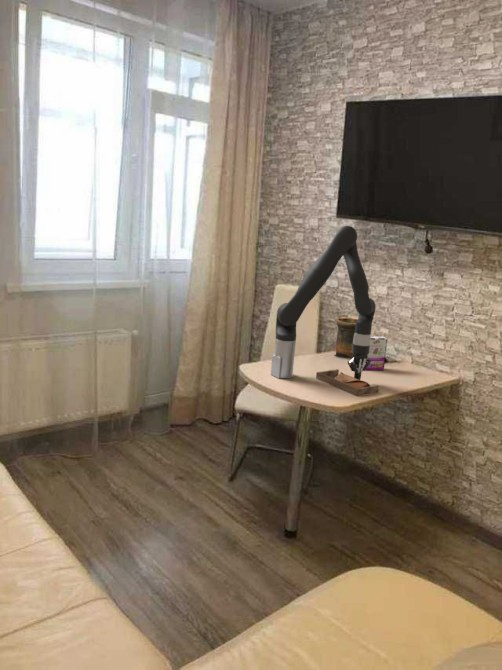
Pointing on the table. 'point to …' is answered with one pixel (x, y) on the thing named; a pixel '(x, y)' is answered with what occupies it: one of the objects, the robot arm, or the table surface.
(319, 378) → the tray
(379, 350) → the candy bar box
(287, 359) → the robot arm
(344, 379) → the sunglasses case
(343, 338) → the vessel
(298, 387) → the table surface
